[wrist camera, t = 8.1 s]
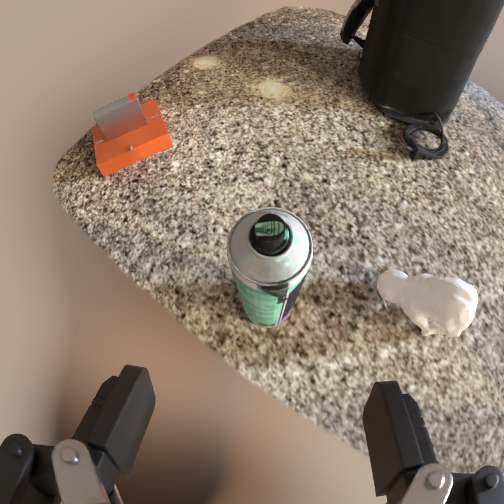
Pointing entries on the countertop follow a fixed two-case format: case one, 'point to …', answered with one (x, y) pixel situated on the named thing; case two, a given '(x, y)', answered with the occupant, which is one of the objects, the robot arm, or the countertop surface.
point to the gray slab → (120, 117)
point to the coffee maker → (420, 58)
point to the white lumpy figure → (430, 301)
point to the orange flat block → (132, 142)
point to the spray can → (269, 262)
